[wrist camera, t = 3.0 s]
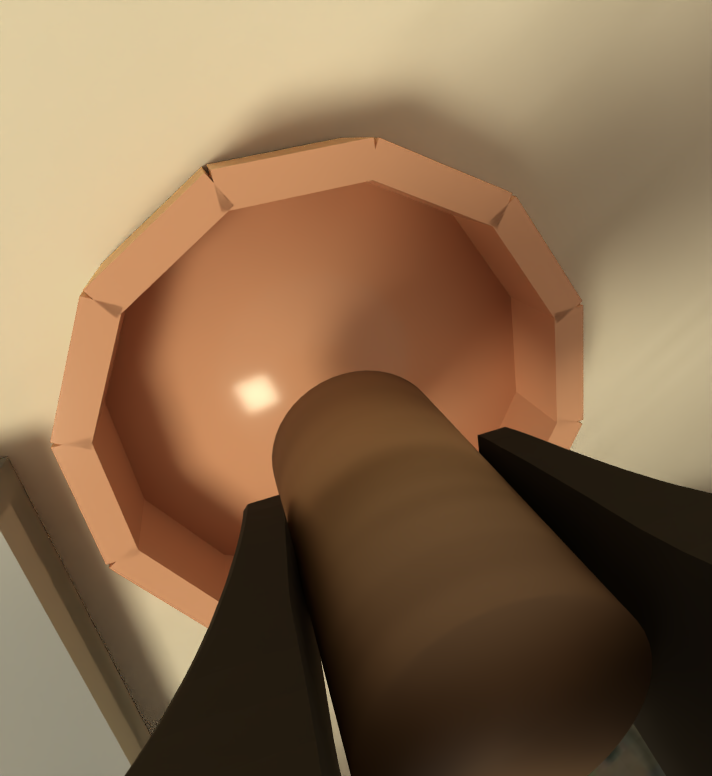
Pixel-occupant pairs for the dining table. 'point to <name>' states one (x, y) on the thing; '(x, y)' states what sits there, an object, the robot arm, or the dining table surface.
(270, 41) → the dining table surface
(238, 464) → the terracotta bowl
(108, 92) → the dining table surface
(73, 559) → the dining table surface
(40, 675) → the slate tray
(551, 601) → the walnut peg
